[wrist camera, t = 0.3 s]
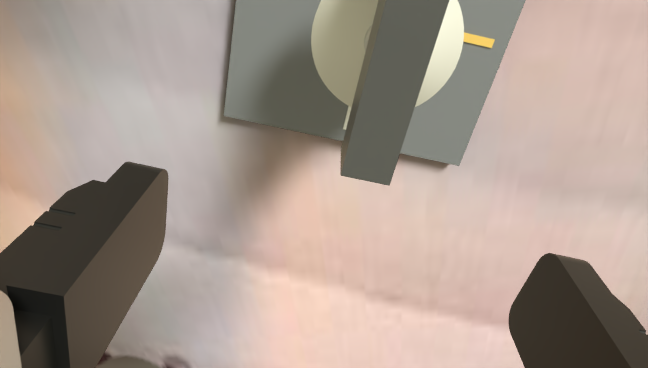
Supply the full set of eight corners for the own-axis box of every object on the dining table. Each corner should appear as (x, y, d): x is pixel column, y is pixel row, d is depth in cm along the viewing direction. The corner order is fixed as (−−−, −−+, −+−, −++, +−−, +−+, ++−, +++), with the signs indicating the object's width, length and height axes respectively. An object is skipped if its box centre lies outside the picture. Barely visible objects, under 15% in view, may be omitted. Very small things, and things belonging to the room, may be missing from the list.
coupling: (336, -92, 23) (333, -111, 16) (482, -56, 24) (547, -57, 16) (298, 105, 28) (282, 163, 21) (419, 131, 29) (445, 197, 21)
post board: (261, -188, 28) (233, -233, 21) (560, -111, 29) (629, -128, 22) (227, 110, 37) (200, 148, 30) (455, 158, 39) (480, 205, 31)
